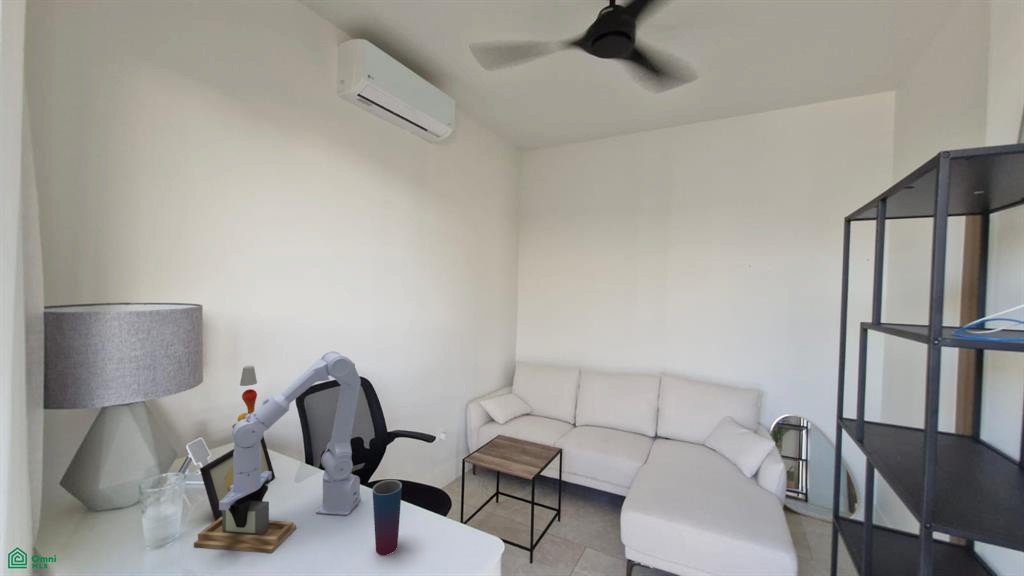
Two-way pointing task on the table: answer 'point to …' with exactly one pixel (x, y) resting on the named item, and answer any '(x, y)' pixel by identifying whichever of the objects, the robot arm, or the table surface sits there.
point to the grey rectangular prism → (249, 520)
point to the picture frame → (227, 477)
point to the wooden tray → (245, 537)
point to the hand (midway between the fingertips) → (247, 521)
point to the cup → (386, 515)
